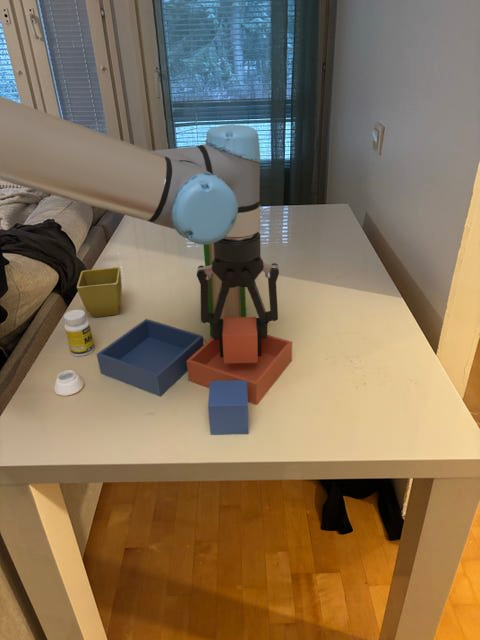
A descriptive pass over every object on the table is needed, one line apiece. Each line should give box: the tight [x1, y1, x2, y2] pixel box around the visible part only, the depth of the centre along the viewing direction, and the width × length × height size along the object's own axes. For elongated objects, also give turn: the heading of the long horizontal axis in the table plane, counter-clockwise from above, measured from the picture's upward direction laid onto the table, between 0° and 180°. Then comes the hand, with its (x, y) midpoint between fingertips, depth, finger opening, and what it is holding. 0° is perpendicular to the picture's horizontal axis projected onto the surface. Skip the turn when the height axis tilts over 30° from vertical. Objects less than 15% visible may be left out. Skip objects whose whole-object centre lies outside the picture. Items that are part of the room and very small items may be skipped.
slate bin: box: [96, 318, 205, 397], centre depth 89 cm, size 14×14×4 cm
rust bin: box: [187, 334, 293, 406], centre depth 86 cm, size 14×14×4 cm
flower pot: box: [76, 266, 123, 318], centre depth 106 cm, size 9×9×9 cm
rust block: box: [222, 316, 258, 364], centre depth 84 cm, size 6×6×6 cm
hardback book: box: [203, 243, 247, 340], centre depth 97 cm, size 18×7×24 cm, turn 3°
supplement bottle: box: [63, 309, 95, 357], centre depth 93 cm, size 5×5×8 cm
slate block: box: [207, 380, 249, 436], centre depth 74 cm, size 6×6×6 cm
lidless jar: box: [53, 369, 85, 397], centre depth 84 cm, size 5×3×5 cm
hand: (240, 352), depth 85 cm, fingers closed on rust block, 6 cm apart
